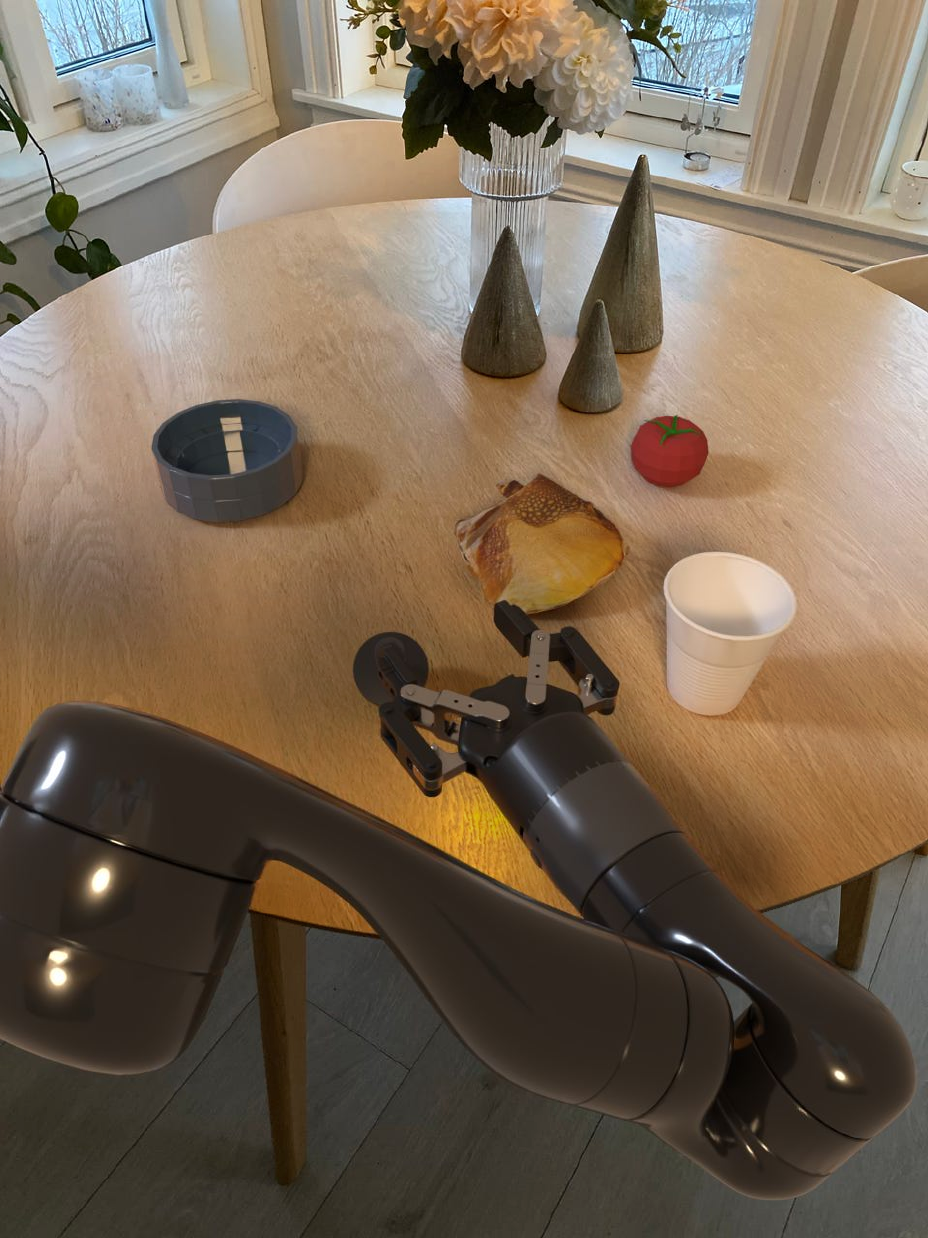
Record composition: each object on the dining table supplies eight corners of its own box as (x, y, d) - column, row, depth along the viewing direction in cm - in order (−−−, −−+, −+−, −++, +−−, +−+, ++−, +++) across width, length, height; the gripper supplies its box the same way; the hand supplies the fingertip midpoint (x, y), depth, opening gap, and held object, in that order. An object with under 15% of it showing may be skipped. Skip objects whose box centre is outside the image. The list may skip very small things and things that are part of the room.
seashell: (666, 535, 88) (551, 583, 79) (638, 595, 93) (527, 647, 84) (546, 437, 95) (429, 471, 87) (526, 497, 100) (414, 535, 92)
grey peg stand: (343, 693, 78) (330, 679, 62) (369, 624, 79) (363, 593, 63) (412, 718, 78) (417, 710, 62) (437, 650, 79) (449, 624, 63)
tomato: (613, 483, 101) (622, 420, 95) (645, 448, 105) (656, 386, 100) (683, 509, 98) (697, 446, 92) (713, 473, 102) (728, 410, 97)
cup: (779, 676, 81) (814, 578, 73) (741, 755, 75) (774, 657, 67) (669, 633, 85) (691, 535, 77) (624, 706, 78) (643, 607, 71)
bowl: (141, 519, 95) (127, 469, 91) (194, 441, 105) (184, 392, 101) (278, 536, 94) (270, 486, 89) (319, 455, 104) (314, 406, 100)
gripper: (696, 721, 53) (536, 554, 63) (477, 831, 48) (340, 630, 58) (673, 799, 59) (529, 633, 69) (473, 905, 53) (348, 709, 63)
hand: (442, 632), depth 63 cm, fingers open, 8 cm apart
